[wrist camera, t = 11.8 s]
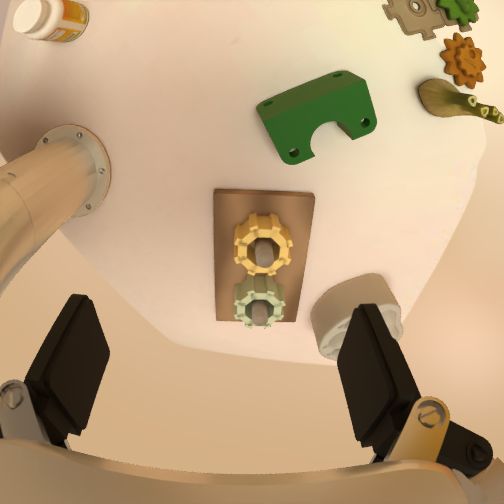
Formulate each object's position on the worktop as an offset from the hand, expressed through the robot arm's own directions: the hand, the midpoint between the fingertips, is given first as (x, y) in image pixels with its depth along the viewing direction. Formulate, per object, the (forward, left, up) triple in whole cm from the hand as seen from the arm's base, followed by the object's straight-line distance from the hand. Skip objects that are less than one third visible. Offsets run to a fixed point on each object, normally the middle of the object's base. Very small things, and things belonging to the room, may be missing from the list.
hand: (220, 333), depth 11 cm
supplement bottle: (-21, +18, -28) cm, 40 cm away
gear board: (+4, -15, -28) cm, 32 cm away
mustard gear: (+3, -11, -27) cm, 29 cm away
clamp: (+8, +5, -29) cm, 30 cm away
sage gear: (+4, -19, -27) cm, 33 cm away
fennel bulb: (+24, +10, -29) cm, 39 cm away
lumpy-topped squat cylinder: (+18, -23, -29) cm, 41 cm away
